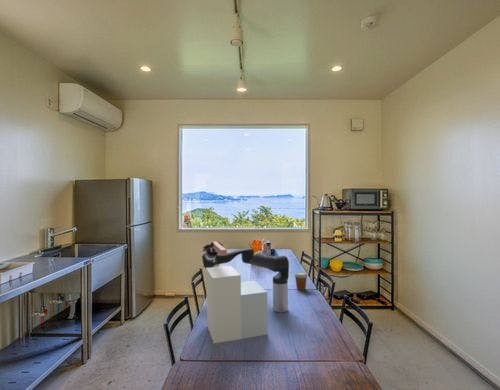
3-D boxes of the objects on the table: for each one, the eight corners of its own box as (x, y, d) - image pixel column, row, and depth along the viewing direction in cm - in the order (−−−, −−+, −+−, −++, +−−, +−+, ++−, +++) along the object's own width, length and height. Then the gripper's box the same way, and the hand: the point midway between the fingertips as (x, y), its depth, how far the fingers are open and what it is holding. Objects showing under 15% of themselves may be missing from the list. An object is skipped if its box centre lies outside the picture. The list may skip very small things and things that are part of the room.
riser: (206, 326, 160) (206, 267, 160) (255, 318, 169) (254, 263, 169) (213, 343, 141) (212, 278, 141) (267, 334, 150) (266, 272, 150)
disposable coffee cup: (299, 286, 226) (299, 270, 226) (310, 289, 219) (309, 273, 219) (292, 289, 219) (291, 273, 219) (302, 292, 212) (302, 275, 212)
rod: (211, 246, 181) (211, 241, 181) (216, 246, 182) (216, 241, 182) (221, 255, 154) (221, 250, 154) (226, 255, 155) (226, 249, 155)
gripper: (200, 248, 189) (203, 238, 175) (221, 246, 193) (226, 236, 179) (201, 259, 185) (204, 250, 171) (222, 257, 190) (228, 248, 175)
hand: (215, 243), depth 175 cm, fingers closed on rod, 3 cm apart
